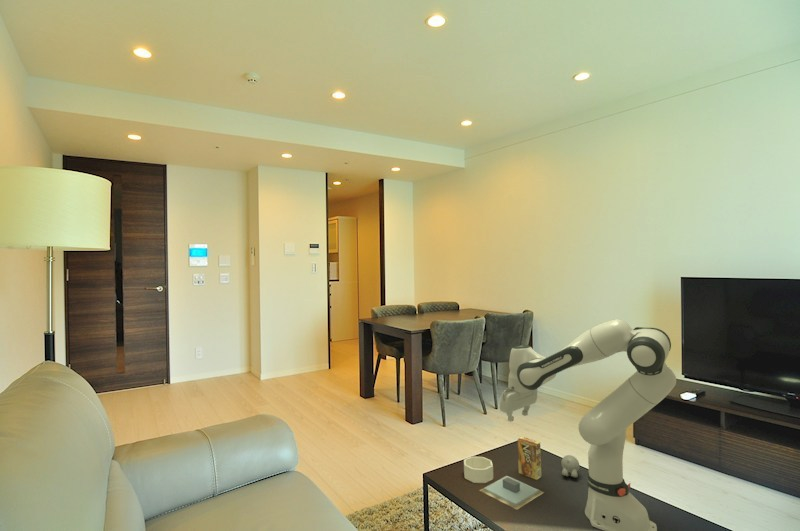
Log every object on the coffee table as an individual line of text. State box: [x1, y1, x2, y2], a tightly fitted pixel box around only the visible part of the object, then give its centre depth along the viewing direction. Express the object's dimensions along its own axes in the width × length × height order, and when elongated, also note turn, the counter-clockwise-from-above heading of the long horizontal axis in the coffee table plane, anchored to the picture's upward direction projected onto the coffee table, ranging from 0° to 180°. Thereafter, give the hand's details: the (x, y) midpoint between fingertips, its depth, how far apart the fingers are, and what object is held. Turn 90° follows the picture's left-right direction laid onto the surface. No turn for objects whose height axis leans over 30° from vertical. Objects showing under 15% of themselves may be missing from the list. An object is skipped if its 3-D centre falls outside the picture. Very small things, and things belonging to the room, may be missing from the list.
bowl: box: [463, 456, 494, 484], centre depth 181 cm, size 12×12×6 cm
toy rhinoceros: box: [560, 454, 580, 478], centre depth 182 cm, size 7×12×8 cm, turn 152°
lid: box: [483, 475, 540, 506], centre depth 168 cm, size 15×15×4 cm
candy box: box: [517, 436, 542, 481], centre depth 181 cm, size 9×4×15 cm, turn 44°
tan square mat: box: [478, 475, 545, 510], centre depth 168 cm, size 18×18×1 cm
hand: (517, 417), depth 171 cm, fingers open, 8 cm apart
